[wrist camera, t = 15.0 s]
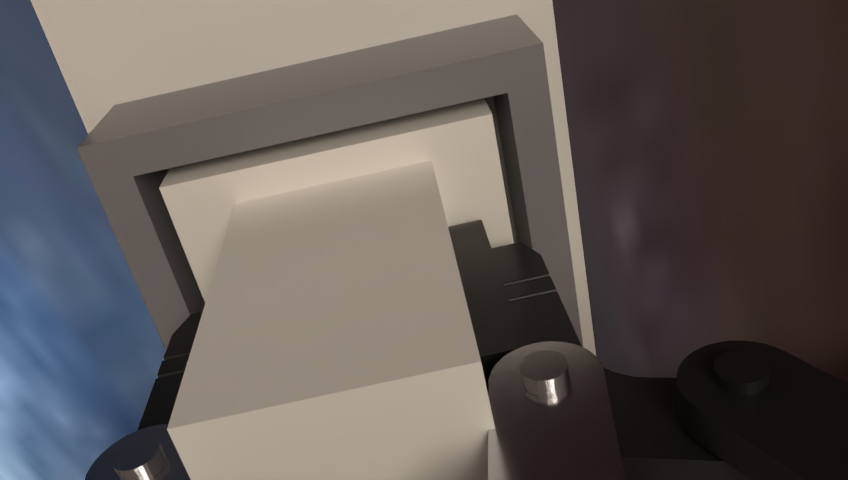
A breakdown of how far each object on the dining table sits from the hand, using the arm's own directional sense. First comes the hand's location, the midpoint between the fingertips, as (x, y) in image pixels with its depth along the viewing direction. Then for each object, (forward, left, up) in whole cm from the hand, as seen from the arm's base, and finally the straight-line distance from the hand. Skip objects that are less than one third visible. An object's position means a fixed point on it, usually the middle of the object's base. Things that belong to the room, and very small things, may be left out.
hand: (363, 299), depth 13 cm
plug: (0, 0, -2) cm, 2 cm away
